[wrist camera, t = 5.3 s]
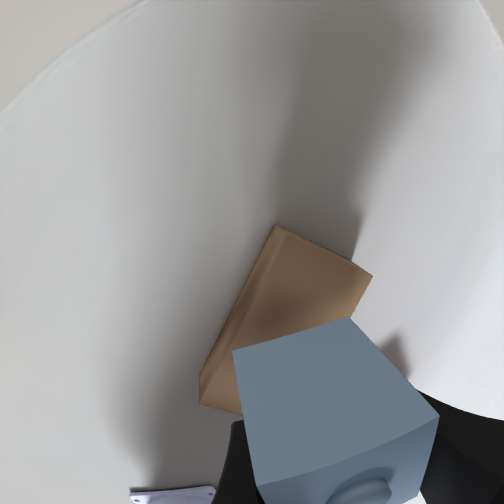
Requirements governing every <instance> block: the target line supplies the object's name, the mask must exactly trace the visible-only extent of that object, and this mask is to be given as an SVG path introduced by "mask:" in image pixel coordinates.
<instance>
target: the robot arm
mask: <svg viewBox="0 0 504 504" xmlns="http://www.w3.org/2000/svg"><path fill="white" fill-rule="evenodd" d="M416 390H417V389H416ZM417 391H418V392H419V393H420V394H421V395H422V396H423V398H424V399H425V400H426V401H427V402H428V403H429V404H430V405H431V406H432V408H433V409H434V410H435V411H436V412H437V413H438V414H439V415H440V417H439V422H438V426H437V430H436V434H435V438H434V442H433V446H432V450H431V454H430V457H429V461H428V464H427V467H426V471H425V474H424V477H423V480H422V483H421V486H420V491H421V493H422V495H423V497H424V499H425V501H426V503H427V504H504V420H498V419H493V418H487V417H483V416H479V415H476V414H472V413H469V412H466V411H463V410H460V409H457V408H455V407H452V406H450V405H447V404H445V403H443V402H441V401H438V400H436V399H434V398H432V397H430V396H428V395H426V394H424V393H422V392H420V391H419V390H417ZM129 497H130V499H131V500H132V501H133V502H134V503H135V504H265V502H264V500H263V498H262V496H261V494H260V492H259V490H258V488H257V486H256V482H255V477H254V472H253V467H252V462H251V457H250V451H249V446H248V441H247V435H246V430H245V424H244V420H241V421H236V422H233V424H232V425H231V436H230V442H229V448H228V453H227V457H226V461H225V464H224V468H223V472H222V475H221V478H220V481H219V484H218V487H217V490H215V488H214V487H212V486H202V487H195V488H187V489H178V490H167V491H154V492H134V493H130V494H129Z"/></svg>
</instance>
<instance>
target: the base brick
mask: <svg viewBox="0 0 504 504" xmlns="http://www.w3.org/2000/svg"><path fill="white" fill-rule="evenodd" d="M372 277H373V276H372V275H371V274H369V273H368V272H367V271H365V270H364V269H362V268H361V267H359V266H358V265H356V264H355V263H353V262H352V261H350V260H348V259H346V258H344V257H342V256H340V255H338V254H336V253H334V252H332V251H330V250H328V249H326V248H324V247H322V246H320V245H317V244H315V243H313V242H311V241H309V240H307V239H305V238H303V237H301V236H299V235H297V234H295V233H293V232H291V231H288V230H286V229H284V228H282V227H280V226H278V225H276V224H274V226H273V228H272V230H271V232H270V234H269V236H268V238H267V241H266V243H265V245H264V247H263V249H262V251H261V253H260V255H259V257H258V259H257V261H256V263H255V265H254V267H253V269H252V271H251V273H250V275H249V277H248V279H247V281H246V283H245V285H244V287H243V289H242V291H241V293H240V295H239V297H238V299H237V301H236V303H235V305H234V307H233V309H232V311H231V313H230V315H229V317H228V319H227V321H226V323H225V325H224V327H223V329H222V331H221V333H220V335H219V337H218V339H217V341H216V343H215V345H214V347H213V349H212V351H211V353H210V355H209V357H208V359H207V361H206V363H205V365H204V367H203V369H202V371H201V373H200V375H199V402H200V404H203V405H206V406H210V407H213V408H217V409H220V410H224V411H228V412H232V413H235V414H239V415H243V413H242V407H241V402H240V396H239V390H238V384H237V378H236V372H235V366H234V360H233V354H232V350H236V349H240V348H244V347H248V346H251V345H255V344H259V343H262V342H266V341H270V340H273V339H277V338H280V337H283V336H287V335H290V334H294V333H297V332H300V331H303V330H307V329H310V328H313V327H316V326H319V325H323V324H326V323H329V322H332V321H335V320H338V319H341V318H344V317H347V316H348V317H349V318H350V317H351V315H352V313H353V312H354V310H355V308H356V306H357V305H358V303H359V301H360V299H361V297H362V296H363V294H364V292H365V290H366V288H367V287H368V285H369V283H370V281H371V279H372Z"/></svg>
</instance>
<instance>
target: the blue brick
mask: <svg viewBox="0 0 504 504" xmlns="http://www.w3.org/2000/svg"><path fill="white" fill-rule="evenodd" d="M232 354H233V360H234V366H235V372H236V378H237V384H238V390H239V396H240V402H241V407H242V413H243V419H244V424H245V430H246V435H247V441H248V446H249V451H250V457H251V462H252V467H253V472H254V477H255V482H256V486H257V488H258V490H259V492H260V494H261V496H262V498H263V500H264V502H265V504H402V503H404V502H406V501H408V500H410V499H412V498H414V497H416V496H417V495H418V492H419V489H420V486H421V483H422V480H423V477H424V474H425V471H426V467H427V464H428V461H429V457H430V454H431V450H432V446H433V442H434V438H435V434H436V430H437V426H438V422H439V417H440V415H439V414H438V413H437V412H436V411H435V410H434V409H433V408H432V406H431V405H430V404H429V403H428V402H427V401H426V400H425V399H424V398H423V396H422V395H421V394H420V393H419V392H418V391H417V390H416V389H415V388H414V387H413V385H412V384H411V383H410V382H409V381H408V380H407V379H406V378H405V377H404V376H403V374H402V373H401V372H400V371H399V370H398V369H397V368H396V367H395V366H394V365H393V364H392V363H391V361H390V360H389V359H388V358H387V357H386V356H385V355H384V354H383V353H382V352H381V351H380V350H379V349H378V347H377V346H376V345H375V344H374V343H373V342H372V341H371V340H370V339H369V338H368V337H367V336H366V335H365V334H364V332H363V331H362V330H361V329H360V328H359V327H358V326H357V325H356V324H355V323H354V322H353V321H352V320H351V319H350V318H349V317H348V316H347V317H344V318H341V319H338V320H335V321H332V322H329V323H326V324H323V325H319V326H316V327H313V328H310V329H307V330H303V331H300V332H297V333H294V334H290V335H287V336H283V337H280V338H277V339H273V340H270V341H266V342H262V343H259V344H255V345H251V346H248V347H244V348H240V349H236V350H232Z"/></svg>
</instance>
